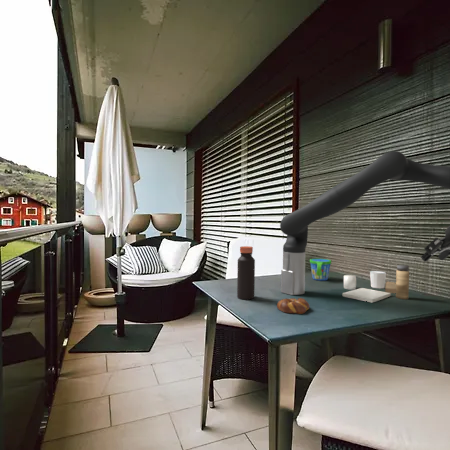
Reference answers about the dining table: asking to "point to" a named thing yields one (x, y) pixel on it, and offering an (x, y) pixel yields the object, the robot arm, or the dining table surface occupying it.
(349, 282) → the white rounded cylinder
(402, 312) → the dining table surface
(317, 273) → the snack cup
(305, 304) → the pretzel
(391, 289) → the wooden block
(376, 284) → the white tapered cylinder
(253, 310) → the dining table surface
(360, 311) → the dining table surface
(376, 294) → the stone tile
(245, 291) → the bottle
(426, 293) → the dining table surface
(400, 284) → the pepper mill
